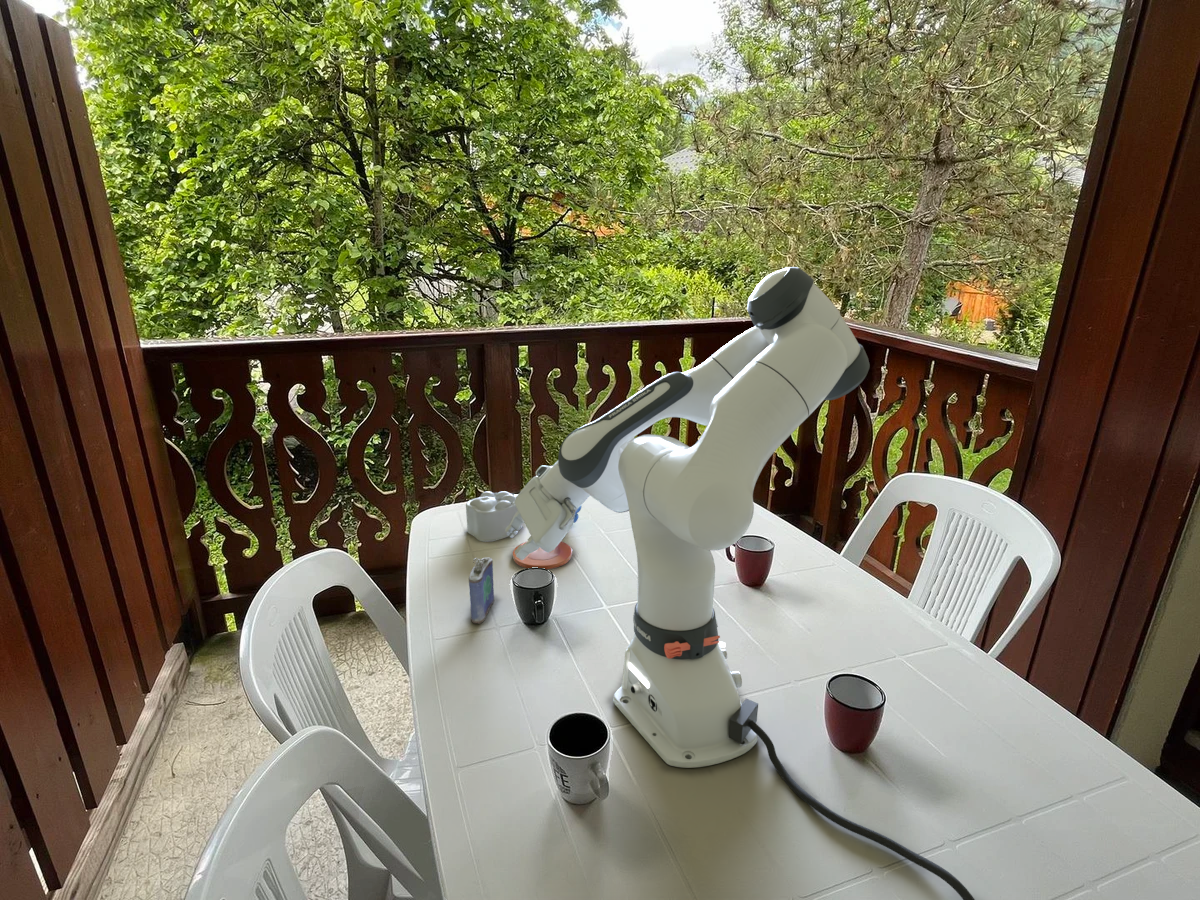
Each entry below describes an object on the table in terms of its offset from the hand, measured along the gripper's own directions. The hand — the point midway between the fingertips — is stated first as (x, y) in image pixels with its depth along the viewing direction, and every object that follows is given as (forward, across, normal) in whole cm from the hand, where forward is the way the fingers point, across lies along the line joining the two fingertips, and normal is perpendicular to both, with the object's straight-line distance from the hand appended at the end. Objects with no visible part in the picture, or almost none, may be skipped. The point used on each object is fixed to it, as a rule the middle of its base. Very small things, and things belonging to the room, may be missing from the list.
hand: (512, 545), depth 118 cm
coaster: (+2, +18, -16) cm, 24 cm away
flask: (+13, 0, -4) cm, 14 cm away
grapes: (-5, +32, -23) cm, 40 cm away
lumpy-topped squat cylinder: (+7, +35, -11) cm, 37 cm away
